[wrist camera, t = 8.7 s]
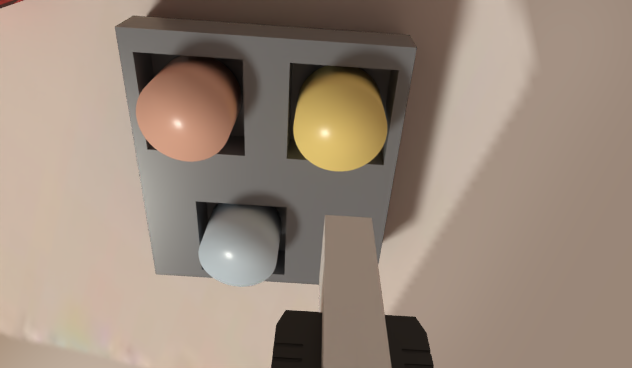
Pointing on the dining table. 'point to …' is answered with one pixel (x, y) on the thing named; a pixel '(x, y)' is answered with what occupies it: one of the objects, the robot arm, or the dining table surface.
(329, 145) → the button mustard
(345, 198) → the button panel
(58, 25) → the dining table surface
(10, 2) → the canned food
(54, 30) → the dining table surface
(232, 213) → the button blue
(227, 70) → the salmon pink rounded dome
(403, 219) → the dining table surface
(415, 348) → the robot arm
